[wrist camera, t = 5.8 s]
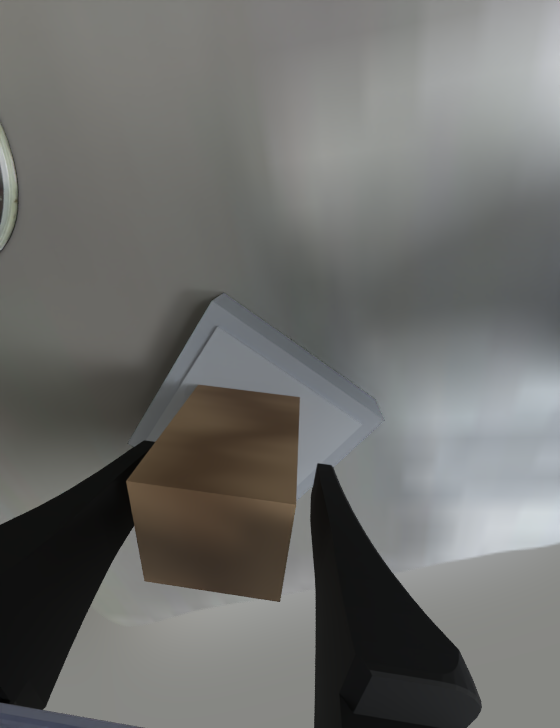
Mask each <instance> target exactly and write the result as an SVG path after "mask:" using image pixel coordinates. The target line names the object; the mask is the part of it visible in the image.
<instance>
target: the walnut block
mask: <svg viewBox="0 0 560 728" xmlns="http://www.w3.org/2000/svg"><path fill="white" fill-rule="evenodd" d="M299 411H300V397H295V396H287V395H279V394H271V393H263V392H255V391H247V390H239V389H231V388H223V387H215V386H207V385H198V386H197V387H196V388H195V390H194V391H193V392H192V394H191V395H190V396H189V398H188V399H187V400H186V402H185V403H184V404H183V406H182V407H181V408H180V410H179V411H178V412H177V414H176V415H175V416H174V418H173V419H172V420H171V422H170V423H169V424H168V426H167V427H166V428H165V430H164V431H163V432H162V434H161V435H160V436H159V438H158V439H157V440H156V442H155V443H154V445H153V446H152V447H151V449H150V450H149V451H148V453H147V454H146V455H145V457H144V458H143V459H142V461H141V462H140V463H139V465H138V466H137V467H136V469H135V470H134V471H133V473H132V474H131V475H130V477H129V478H128V479H127V481H126V483H127V488H128V494H129V499H130V505H131V510H132V515H133V521H134V526H135V532H136V537H137V543H138V548H139V553H140V559H141V564H142V570H143V575H144V581H147V582H153V583H160V584H166V585H173V586H179V587H186V588H192V589H199V590H205V591H212V592H218V593H225V594H231V595H238V596H244V597H251V598H257V599H264V600H270V601H277V602H280V598H281V592H282V586H283V580H284V574H285V568H286V562H287V556H288V550H289V544H290V538H291V532H292V526H293V520H294V514H295V508H296V493H297V466H298V438H299Z"/></svg>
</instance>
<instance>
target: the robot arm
mask: <svg viewBox="0 0 560 728" xmlns="http://www.w3.org/2000/svg"><path fill="white" fill-rule="evenodd" d="M154 443H155V442H154V441H146V440H144V441H142V442H141V443H139V444H138V445H136V446H135V447H133V448H132V449H130V450H129V451H128V452H126V453H125V454H123V455H122V456H120V457H119V458H117V459H116V460H114V461H113V462H112V463H110V464H109V465H107V466H106V467H104V468H103V469H101V470H100V471H98V472H97V473H95V474H93V475H92V476H90V477H89V478H87V479H85V480H84V481H82V482H81V483H79V484H77V485H76V486H74V487H73V488H71V489H69V490H68V491H66V492H64V493H62V494H61V495H59V496H57V497H55V498H53V499H51V500H50V501H48V502H46V503H44V504H42V505H40V506H38V507H36V508H34V509H32V510H30V511H28V512H26V513H24V514H22V515H20V516H18V517H16V518H14V519H12V520H9V521H7V522H5V523H3V524H1V525H0V728H143V727H137V726H131V725H125V724H119V723H114V722H108V721H103V720H97V719H91V718H85V717H79V716H74V715H68V714H62V713H56V712H51V711H45V710H43V709H44V708H45V707H46V705H47V702H48V700H49V698H50V695H51V692H52V690H53V688H54V686H55V683H56V681H57V679H58V676H59V674H60V672H61V669H62V667H63V664H64V662H65V660H66V658H67V655H68V653H69V651H70V648H71V646H72V644H73V642H74V639H75V637H76V635H77V633H78V631H79V629H80V626H81V624H82V622H83V620H84V618H85V616H86V613H87V612H88V609H89V607H90V605H91V603H92V601H93V599H94V597H95V595H96V593H97V591H98V589H99V587H100V585H101V583H102V581H103V579H104V577H105V575H106V573H107V571H108V569H109V567H110V565H111V563H112V561H113V559H114V558H115V556H116V554H117V553H118V551H119V549H120V547H121V546H122V544H123V543H124V541H125V539H126V538H127V536H128V535H129V533H130V531H131V530H132V528H133V526H134V521H133V515H132V510H131V505H130V499H129V494H128V488H127V483H126V481H127V479H128V478H129V477H130V475H131V474H132V473H133V471H134V470H135V469H136V467H137V466H138V465H139V463H140V462H141V461H142V459H143V458H144V457H145V455H146V454H147V453H148V451H149V450H150V449H151V447H152V446H153V445H154ZM310 522H311V535H312V547H313V560H314V572H315V588H316V655H315V657H316V658H315V716H314V728H467V727H468V726H469V725H470V724H471V723H472V722H473V721H474V720H475V719H476V718H477V716H478V715H479V713H480V711H481V708H482V706H481V700H480V697H479V695H478V692H477V689H476V687H475V684H474V681H473V679H472V677H471V675H470V672H469V670H468V668H467V666H466V664H465V662H464V659H463V657H462V655H461V653H460V651H459V650H458V648H457V647H456V646H455V645H454V644H453V643H452V642H451V641H450V640H449V639H448V638H447V637H446V636H445V635H444V633H443V632H442V631H441V630H440V629H439V628H438V627H437V626H436V625H435V624H434V623H433V622H432V620H431V619H430V618H429V617H428V616H427V615H426V614H425V613H424V611H423V610H422V609H421V608H420V607H419V605H418V604H417V603H416V602H415V601H414V600H413V598H412V597H411V596H410V595H409V593H408V592H407V591H406V589H405V588H404V587H403V586H402V585H401V583H400V582H399V581H398V579H397V578H396V577H395V575H394V574H393V573H392V572H391V570H390V569H389V567H388V566H387V565H386V563H385V562H384V560H383V559H382V558H381V556H380V555H379V553H378V552H377V550H376V549H375V547H374V546H373V544H372V543H371V541H370V540H369V538H368V536H367V535H366V533H365V531H364V530H363V528H362V526H361V525H360V523H359V521H358V519H357V518H356V516H355V514H354V512H353V510H352V508H351V506H350V504H349V502H348V500H347V498H346V496H345V494H344V492H343V490H342V488H341V486H340V483H339V481H338V479H337V476H336V474H335V471H334V468H333V467H332V465H328V464H320V463H317V467H316V472H315V478H314V483H313V488H312V493H311V514H310Z"/></svg>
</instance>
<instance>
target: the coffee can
mask: <svg viewBox="0 0 560 728" xmlns="http://www.w3.org/2000/svg"><path fill="white" fill-rule="evenodd" d="M17 209H18V185H17V174H16V169H15V165H14V160H13V156H12V153H11V150H10V146H9V143H8V140H7V137H6V135H5V132H4V130H3V127H2V125H1V123H0V251H1V250H2V249H3V247H4V246H5V244H6V243H7V242H8V240H9V238H10V236H11V233H12V231H13V228H14V225H15V221H16V217H17Z"/></svg>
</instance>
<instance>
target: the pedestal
mask: <svg viewBox="0 0 560 728" xmlns="http://www.w3.org/2000/svg"><path fill="white" fill-rule="evenodd" d="M198 385H207V386H215V387H223V388H231V389H239V390H247V391H255V392H263V393H271V394H279V395H287V396H295V397H300V411H299V438H298V466H297V493H296V501H297V500H298V499H299V498H300V497H301V496H302V495H303V494H304V493H306V492H307V491H308V490H309V489H310V488H311V487H312V486H313V483H314V478H315V472H316V467H317V463H320V464H328V465H332V467H334V466H335V465H336V464H337V463H339V462H340V461H341V460H342V459H343V458H344V457H345V456H346V455H347V454H348V453H350V452H351V451H352V450H353V449H354V448H355V447H356V446H357V445H358V444H359V443H361V442H362V441H363V440H364V439H365V438H366V437H367V436H368V435H369V434H370V433H372V432H373V431H374V430H375V429H376V428H377V427H378V426H379V425H380V424H381V423H382V422H384V421H385V420H384V417H383V415H382V413H381V411H380V408H379V406H378V404H377V402H376V399H374V398H373V397H371V396H370V395H369V394H367V393H366V392H364V391H363V390H361V389H360V388H359V387H357V386H356V385H354V384H353V383H352V382H350V381H349V380H347V379H346V378H344V377H343V376H342V375H340V374H339V373H337V372H336V371H335V370H333V369H332V368H330V367H329V366H327V365H326V364H325V363H323V362H322V361H320V360H319V359H318V358H316V357H315V356H313V355H312V354H310V353H309V352H308V351H306V350H305V349H303V348H302V347H300V346H299V345H298V344H296V343H295V342H293V341H292V340H291V339H289V338H288V337H286V336H285V335H283V334H282V333H281V332H279V331H278V330H276V329H275V328H274V327H272V326H271V325H269V324H268V323H266V322H265V321H264V320H262V319H261V318H259V317H258V316H256V315H255V314H254V313H252V312H251V311H249V310H248V309H247V308H245V307H244V306H242V305H241V304H239V303H238V302H237V301H235V300H234V299H232V298H231V297H230V296H228V295H227V294H225V293H223V294H221V295H220V296H218V297H217V298H215V299H214V300H212V301H211V303H210V305H209V306H208V308H207V310H206V311H205V313H204V315H203V316H202V318H201V320H200V322H199V323H198V325H197V327H196V328H195V330H194V332H193V333H192V335H191V337H190V338H189V340H188V342H187V343H186V345H185V347H184V349H183V350H182V352H181V354H180V355H179V357H178V359H177V360H176V362H175V364H174V365H173V367H172V369H171V370H170V372H169V374H168V376H167V377H166V379H165V381H164V382H163V384H162V386H161V387H160V389H159V391H158V392H157V394H156V396H155V398H154V399H153V401H152V403H151V404H150V406H149V408H148V409H147V411H146V413H145V414H144V416H143V418H142V419H141V421H140V423H139V425H138V426H137V428H136V430H135V431H134V433H133V435H132V436H131V438H130V440H129V441H128V443H127V444H129V445H131V446H133V447H135V446H136V445H138V444H139V443H141V442H142V441H144V440H146V441H154V442H156V440H157V439H158V438H159V436H160V435H161V434H162V432H163V431H164V430H165V428H166V427H167V426H168V424H169V423H170V422H171V420H172V419H173V418H174V416H175V415H176V414H177V412H178V411H179V410H180V408H181V407H182V406H183V404H184V403H185V402H186V400H187V399H188V398H189V396H190V395H191V394H192V392H193V391H194V390H195V388H196V387H197V386H198Z"/></svg>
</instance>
